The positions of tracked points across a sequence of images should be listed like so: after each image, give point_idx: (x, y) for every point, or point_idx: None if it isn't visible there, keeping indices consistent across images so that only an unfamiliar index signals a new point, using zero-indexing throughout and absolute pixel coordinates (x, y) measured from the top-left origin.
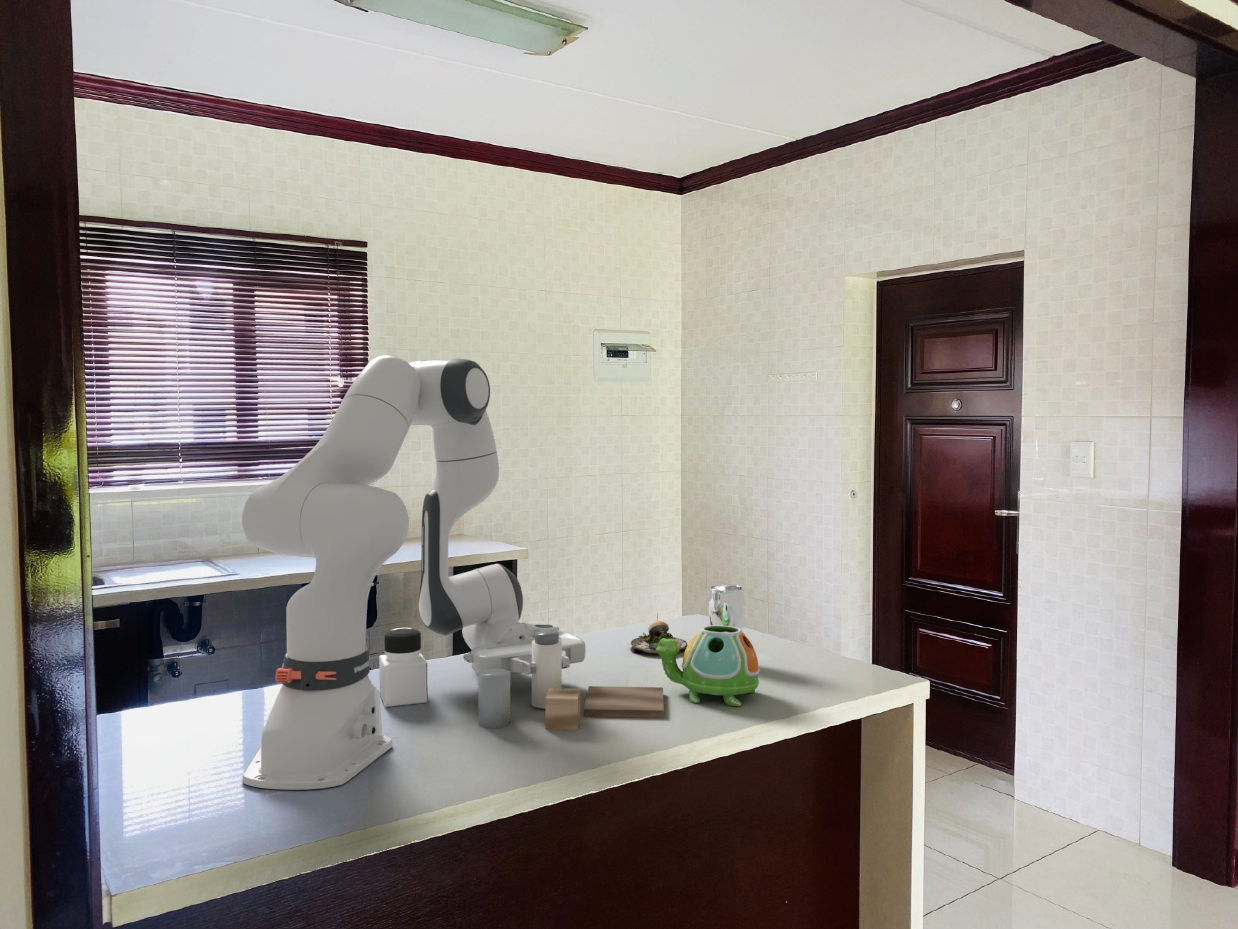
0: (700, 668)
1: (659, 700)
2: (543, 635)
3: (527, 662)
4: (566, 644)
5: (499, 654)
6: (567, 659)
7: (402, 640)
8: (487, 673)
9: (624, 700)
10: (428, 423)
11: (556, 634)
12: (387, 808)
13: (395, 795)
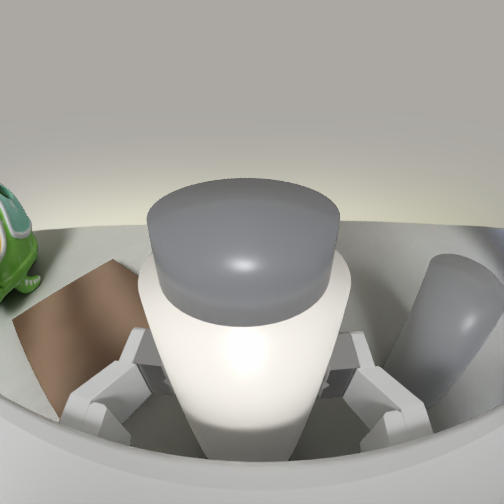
0: (22, 227)
1: (73, 285)
2: (292, 189)
3: (356, 354)
4: (14, 414)
5: (495, 419)
6: (145, 329)
7: None
8: (486, 285)
9: (105, 314)
10: None
11: (207, 183)
12: (478, 236)
13: (481, 246)
